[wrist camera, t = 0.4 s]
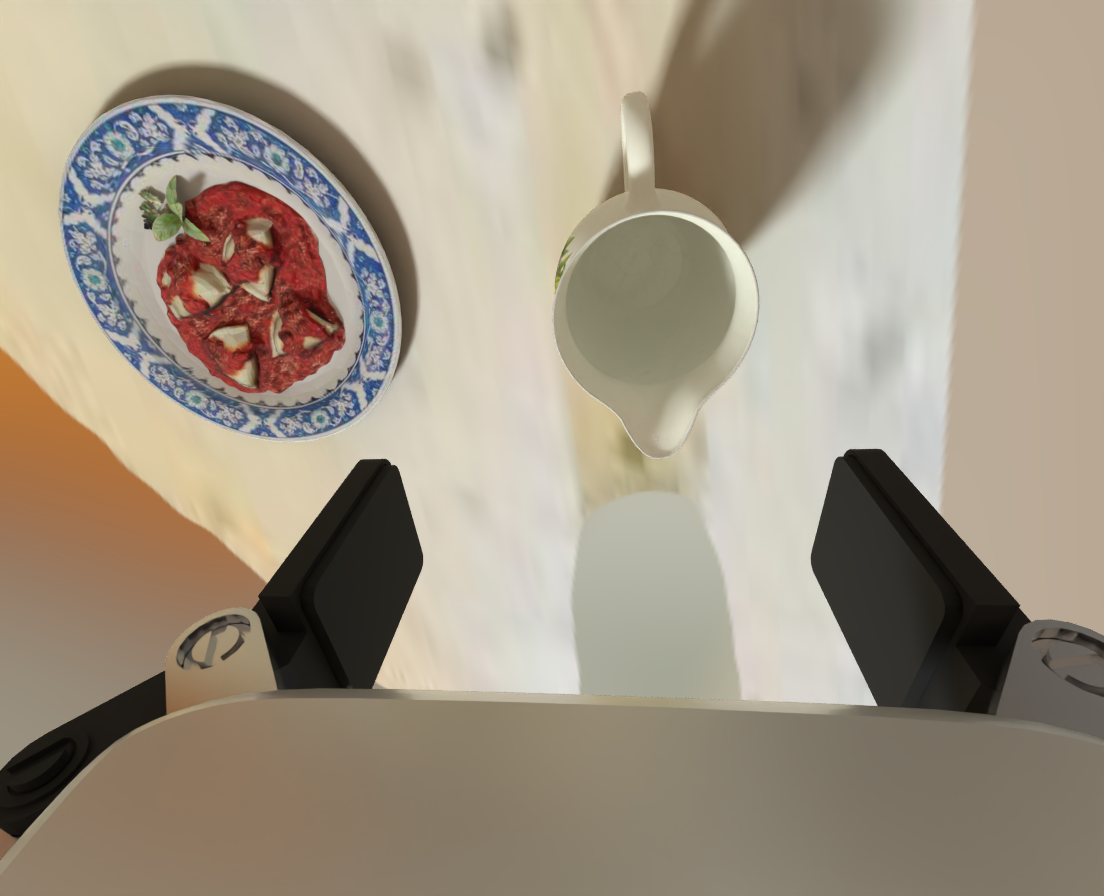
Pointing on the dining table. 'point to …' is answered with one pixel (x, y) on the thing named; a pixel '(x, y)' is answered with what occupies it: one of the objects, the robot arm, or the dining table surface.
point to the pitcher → (652, 300)
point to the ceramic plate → (230, 268)
